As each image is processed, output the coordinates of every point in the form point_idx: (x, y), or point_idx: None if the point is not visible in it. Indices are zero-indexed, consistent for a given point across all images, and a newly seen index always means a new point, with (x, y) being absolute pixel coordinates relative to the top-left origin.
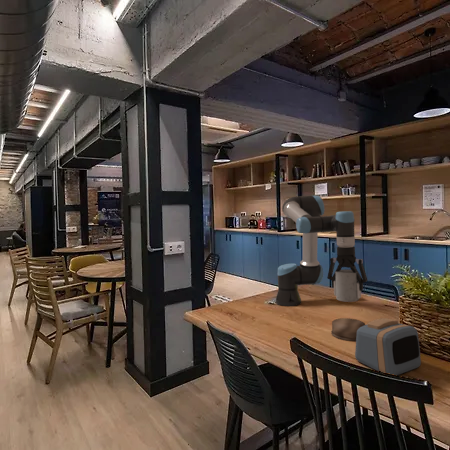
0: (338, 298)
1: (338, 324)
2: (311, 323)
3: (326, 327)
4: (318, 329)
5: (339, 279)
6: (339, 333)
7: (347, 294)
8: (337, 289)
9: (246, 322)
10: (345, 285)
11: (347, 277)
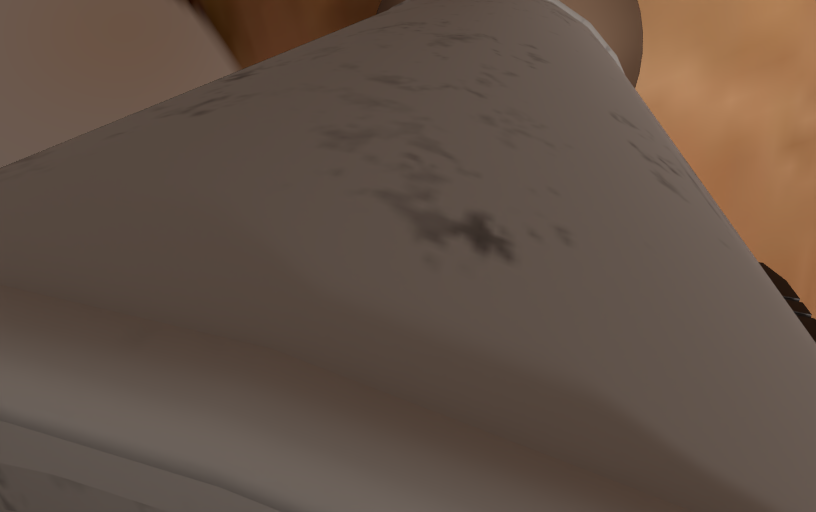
0: (595, 35)
1: (576, 6)
2: (806, 178)
3: (674, 135)
4: (750, 65)
5: (619, 142)
6: None
7: (402, 5)
8: (640, 99)
9: None
10: (376, 26)
11: (80, 136)
